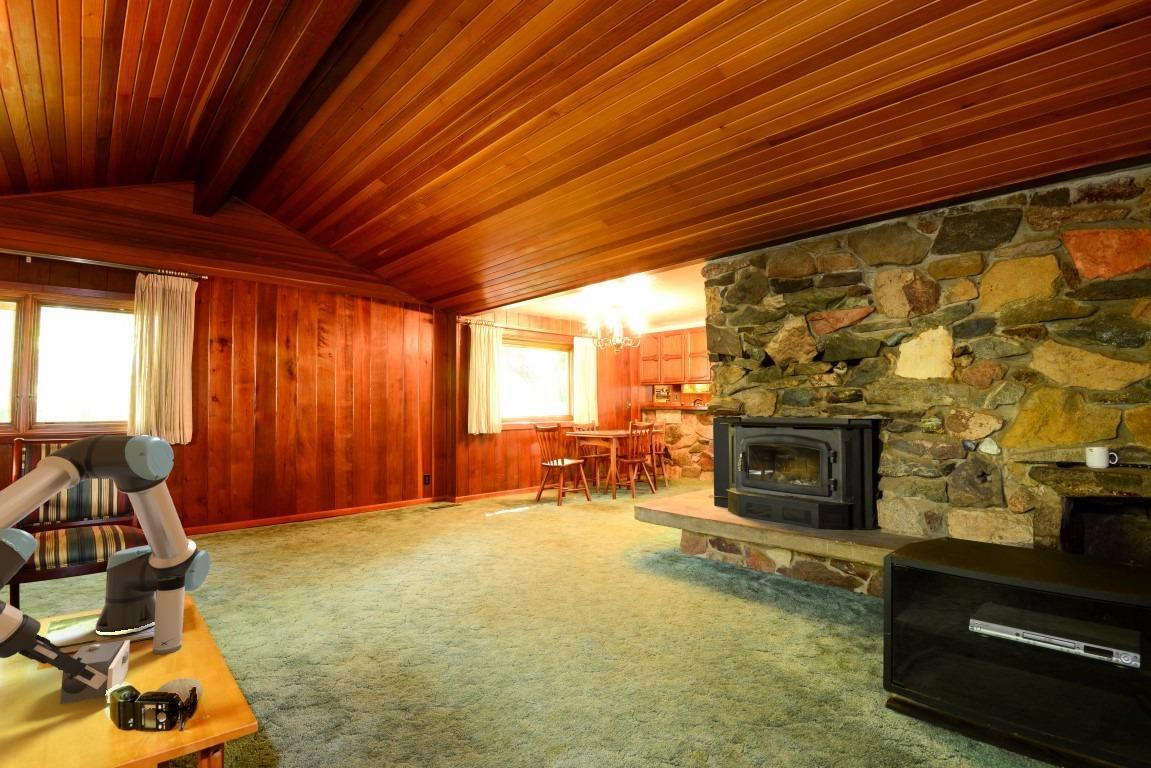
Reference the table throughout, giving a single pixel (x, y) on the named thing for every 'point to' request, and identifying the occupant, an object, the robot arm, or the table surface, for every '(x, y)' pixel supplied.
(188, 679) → the sea urchin shell
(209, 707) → the table surface
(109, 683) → the side door
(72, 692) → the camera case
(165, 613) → the travel mug
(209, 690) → the table surface
